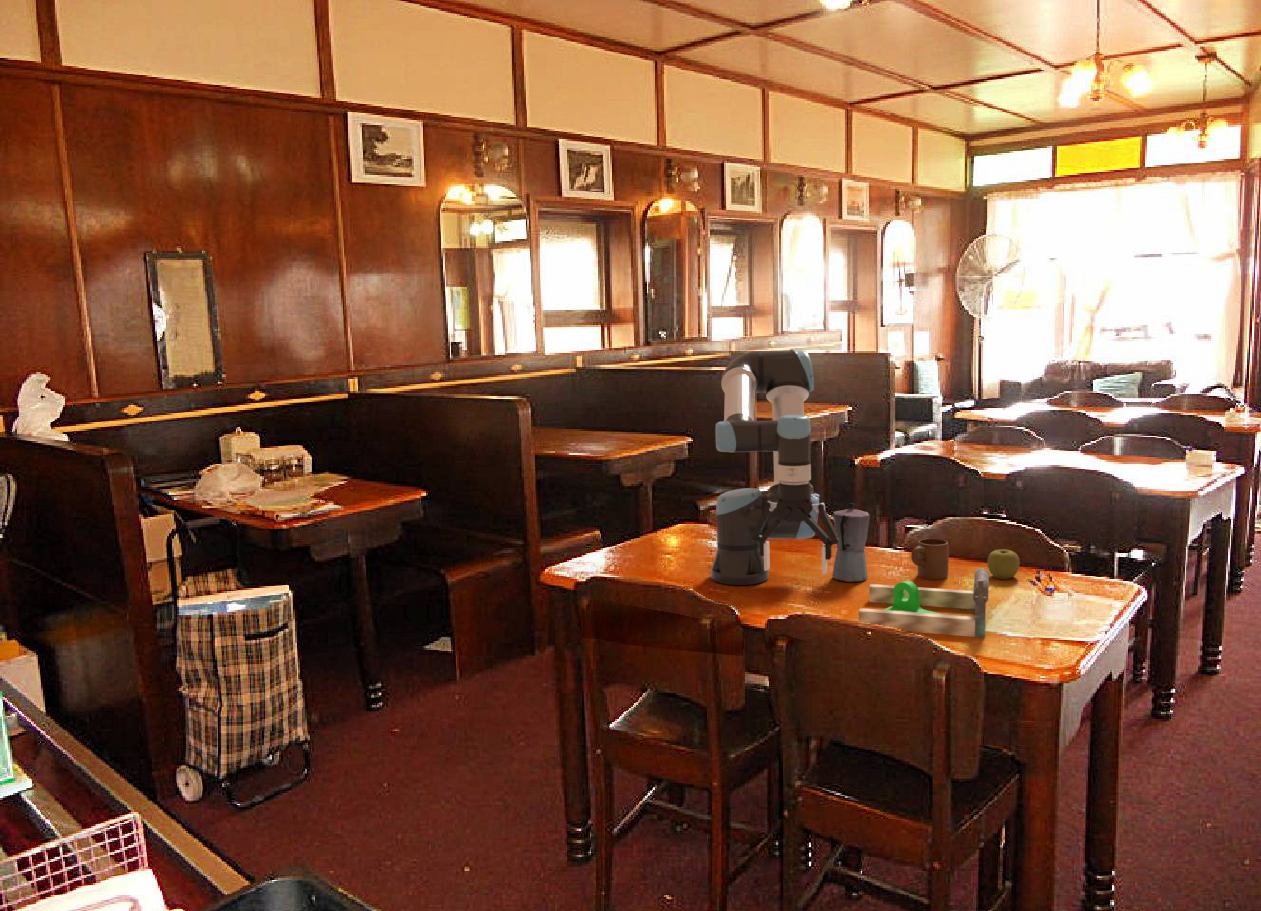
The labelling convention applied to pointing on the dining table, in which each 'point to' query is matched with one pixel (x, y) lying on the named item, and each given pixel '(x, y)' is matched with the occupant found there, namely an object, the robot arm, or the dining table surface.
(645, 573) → the dining table surface
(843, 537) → the moka pot
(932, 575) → the mug
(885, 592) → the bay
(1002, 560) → the apple
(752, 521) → the robot arm
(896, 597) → the mechanical part
